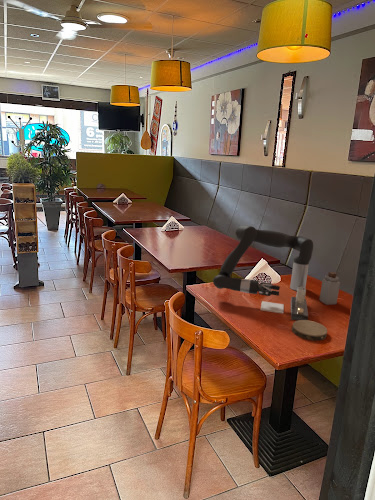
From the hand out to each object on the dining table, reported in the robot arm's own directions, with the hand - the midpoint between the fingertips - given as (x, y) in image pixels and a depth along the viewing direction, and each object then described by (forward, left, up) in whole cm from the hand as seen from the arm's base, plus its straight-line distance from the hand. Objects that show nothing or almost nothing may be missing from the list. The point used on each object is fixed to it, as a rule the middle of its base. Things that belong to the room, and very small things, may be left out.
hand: (279, 290), depth 200 cm
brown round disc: (+27, +9, -11) cm, 30 cm away
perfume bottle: (-13, +33, -10) cm, 37 cm away
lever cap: (+3, +11, -7) cm, 13 cm away
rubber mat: (-1, -3, -10) cm, 11 cm away
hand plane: (+3, +11, -10) cm, 15 cm away
